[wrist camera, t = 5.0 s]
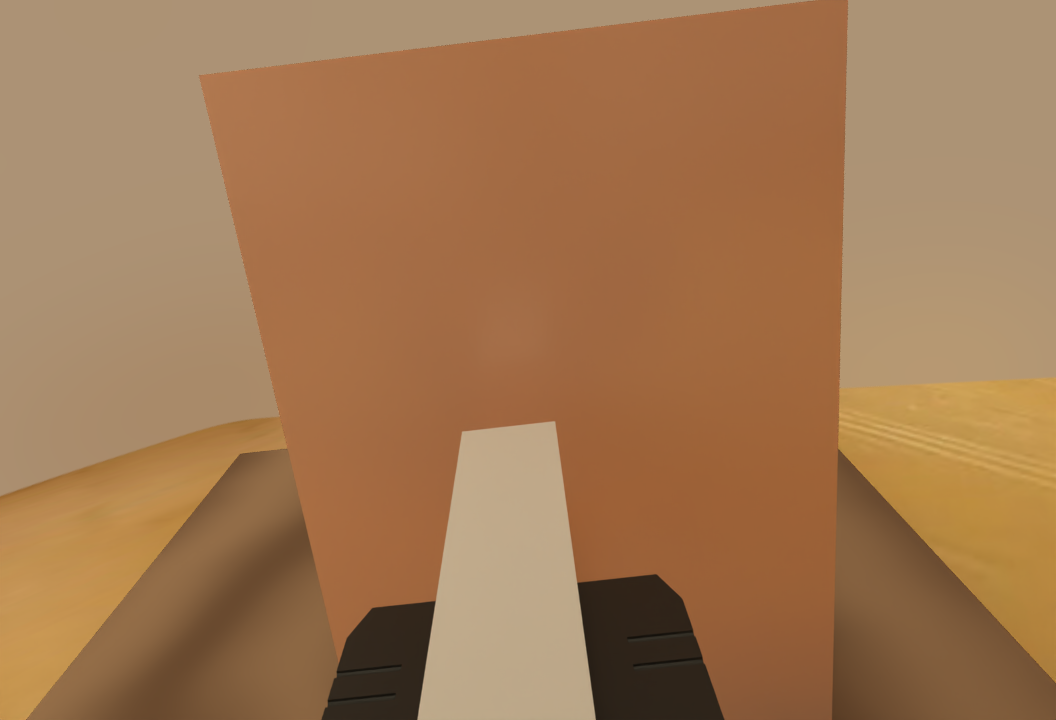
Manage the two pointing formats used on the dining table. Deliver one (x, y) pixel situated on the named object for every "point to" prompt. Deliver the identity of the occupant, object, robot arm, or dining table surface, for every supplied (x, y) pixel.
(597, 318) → the tile
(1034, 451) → the dining table surface
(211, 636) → the board
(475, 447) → the robot arm
